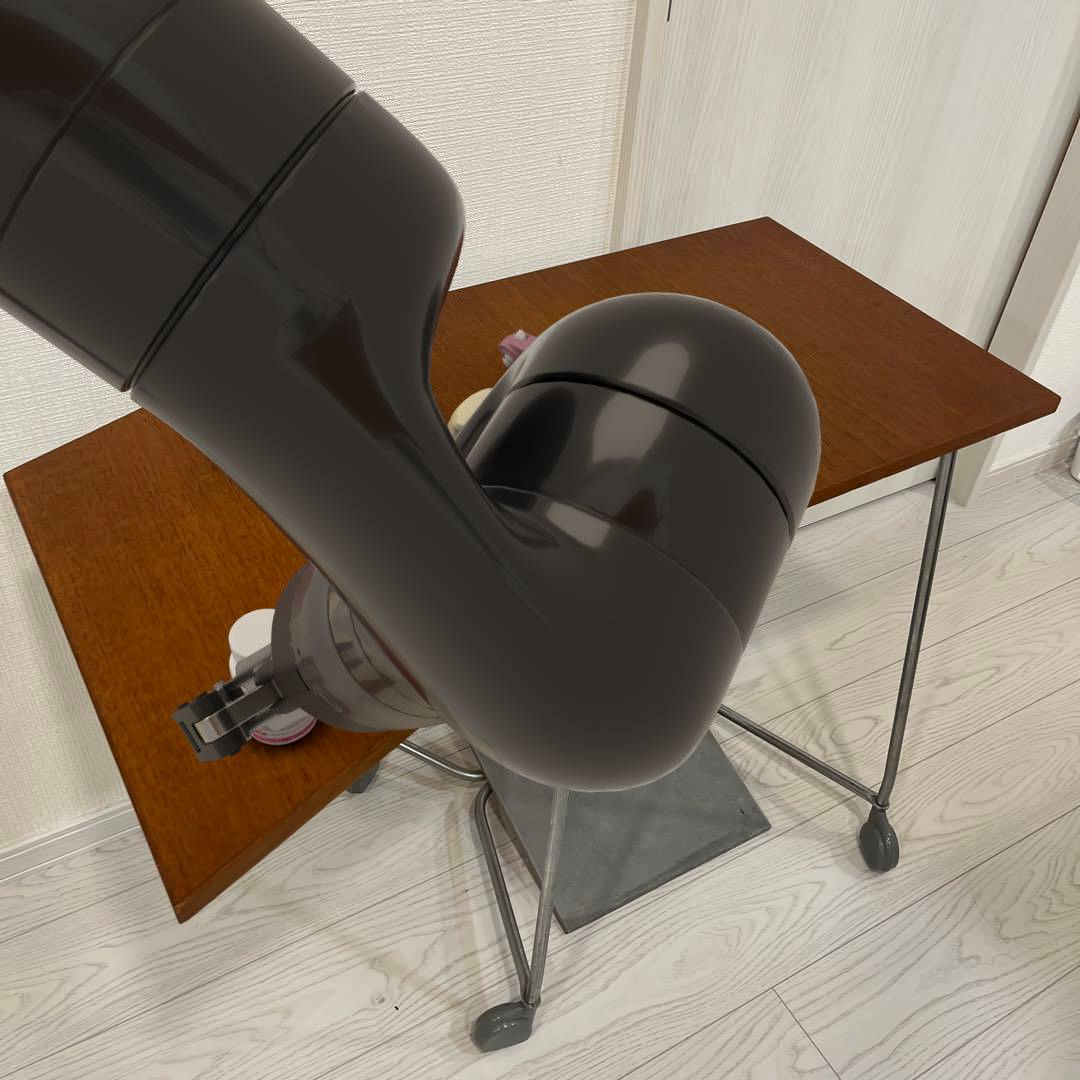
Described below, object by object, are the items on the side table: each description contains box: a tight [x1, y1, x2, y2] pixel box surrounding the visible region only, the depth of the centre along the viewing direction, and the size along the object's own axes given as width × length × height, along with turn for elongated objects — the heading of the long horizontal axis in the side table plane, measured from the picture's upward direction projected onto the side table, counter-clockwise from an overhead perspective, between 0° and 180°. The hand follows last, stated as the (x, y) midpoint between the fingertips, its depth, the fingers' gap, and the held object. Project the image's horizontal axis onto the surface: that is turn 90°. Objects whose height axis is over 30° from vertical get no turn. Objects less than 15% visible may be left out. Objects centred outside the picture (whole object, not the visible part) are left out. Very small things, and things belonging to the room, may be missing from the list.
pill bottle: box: [228, 608, 318, 746], centre depth 64 cm, size 5×5×8 cm
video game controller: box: [497, 329, 538, 369], centre depth 91 cm, size 10×5×7 cm, turn 43°
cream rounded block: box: [447, 387, 493, 438], centre depth 81 cm, size 6×5×8 cm
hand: (306, 661), depth 51 cm, fingers open, 8 cm apart
